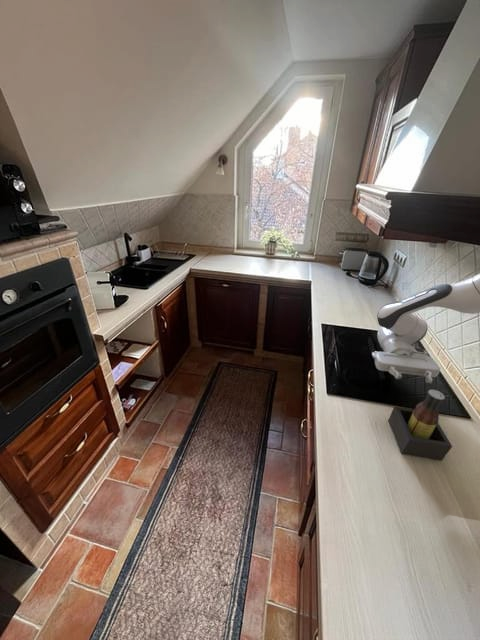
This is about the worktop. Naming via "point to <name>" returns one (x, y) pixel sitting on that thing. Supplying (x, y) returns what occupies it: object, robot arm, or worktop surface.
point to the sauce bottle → (426, 415)
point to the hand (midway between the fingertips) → (414, 379)
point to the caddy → (415, 446)
